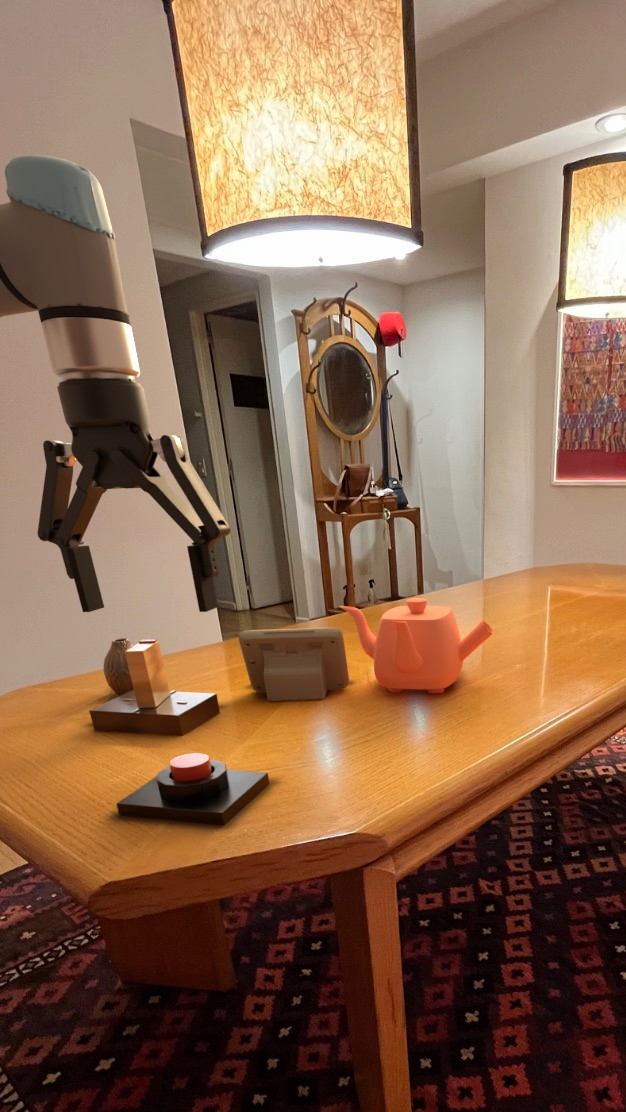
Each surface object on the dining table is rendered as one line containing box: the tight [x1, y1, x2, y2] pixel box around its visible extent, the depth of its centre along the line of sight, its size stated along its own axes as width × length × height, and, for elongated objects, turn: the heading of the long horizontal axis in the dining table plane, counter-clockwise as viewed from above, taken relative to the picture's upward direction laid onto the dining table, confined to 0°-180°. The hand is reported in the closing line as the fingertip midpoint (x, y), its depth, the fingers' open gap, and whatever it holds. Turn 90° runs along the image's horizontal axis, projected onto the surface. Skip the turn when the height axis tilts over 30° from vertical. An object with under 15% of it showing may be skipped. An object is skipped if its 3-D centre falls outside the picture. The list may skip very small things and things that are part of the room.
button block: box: [116, 759, 270, 826], centre depth 72 cm, size 12×10×4 cm
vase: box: [103, 637, 134, 696], centre depth 109 cm, size 7×7×9 cm
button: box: [169, 752, 212, 781], centre depth 71 cm, size 4×4×2 cm
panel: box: [88, 689, 221, 737], centre depth 98 cm, size 14×10×3 cm
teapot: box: [339, 597, 495, 694], centre depth 109 cm, size 18×18×14 cm
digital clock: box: [238, 627, 350, 702], centre depth 106 cm, size 16×9×11 cm, turn 81°
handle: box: [125, 638, 170, 708], centre depth 95 cm, size 6×2×8 cm, turn 2°
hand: (150, 610), depth 73 cm, fingers open, 13 cm apart
